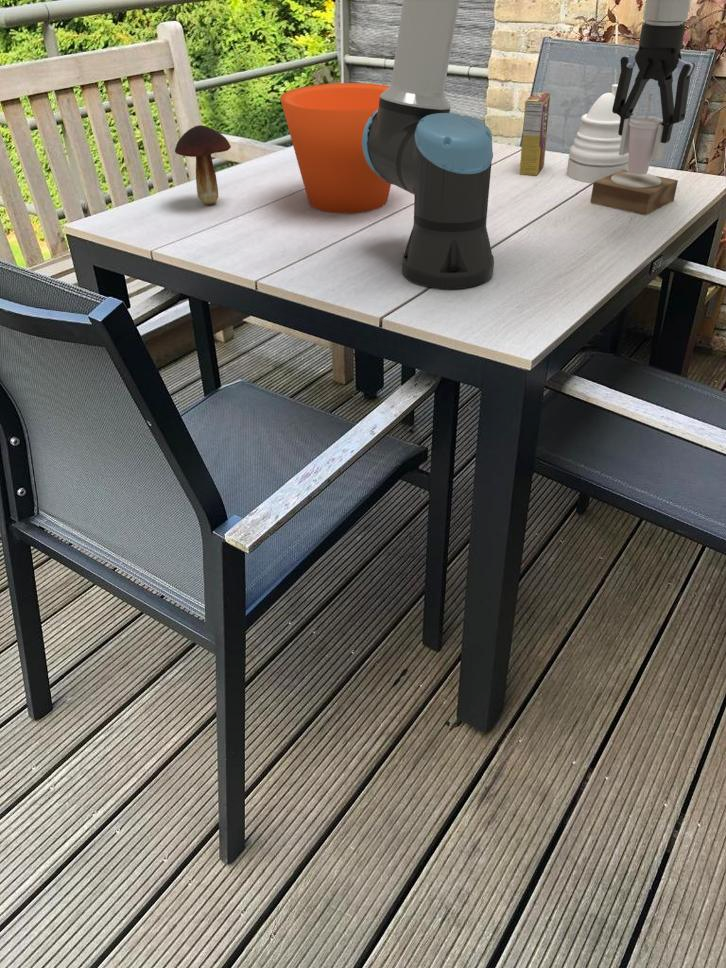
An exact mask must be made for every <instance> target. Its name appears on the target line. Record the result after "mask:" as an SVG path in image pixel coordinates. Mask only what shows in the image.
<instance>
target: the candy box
mask: <svg viewBox="0 0 726 968" xmlns="http://www.w3.org/2000/svg"><path fill="white" fill-rule="evenodd" d="M550 100H551V92H550V93H549V92H548V93H547V92H532V93H531V95H529V97H528V98H527V99H526V100H525V102H524V112H523V113H524V114H523V124H522V125H523V127H522V139H521V151H520V154H521V155H520V165H519V175H523V176H532V177H533V176H535V177H537V176H538V175H539V173H540V172H541V170H542V168H544V166H545V159H546V158H545V155H546V146H547V136H548V125H549V123H548V122H549V115H550V114H549V111H550V104H551V103H550V102H551V101H550Z"/></svg>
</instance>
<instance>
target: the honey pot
mask: <svg viewBox="0 0 726 968" xmlns="http://www.w3.org/2000/svg"><path fill="white" fill-rule="evenodd" d="M617 87H618V83H616V84H615V83H613V84H611V92H606V93H603V94H602V95H600V96H599V97H598V98H597V99H596V100H595V102H594V103H593V105H591V108H590V109H589V110H588V112H587V113H584V114H583V115H582V116H581V118H580V119H581V122H582V123H581V126H580V128H579V130H578V131H577V132H576V137H575V138H574V140H573V143H572V144H573V145H571V146H570V148H569V154H568V156H569V157H568V159H567V168H566V176H567V177H568V178H570V179H572V180H574V181H578V182H582V183H587V184H593V183H594V182H595V181H597V180H600V179H602V178H604V177H607V176H609V175H611V174H614V173H616V172H618V171H621V170H623V169H624V170H628V158H629V153H627V154H624V155H619V150H620V144H621V138H622V136H621V135H619V133H618V132H619V125H620V116H619V115H618V114H616V113H613V112H612V109H613V104H614V100H615V95H616V91H617Z"/></svg>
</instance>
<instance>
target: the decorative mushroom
mask: <svg viewBox="0 0 726 968" xmlns="http://www.w3.org/2000/svg"><path fill="white" fill-rule="evenodd" d="M231 148H232V145H231V144H230V143H229V141H228V139H227V138H226V137H225V136H224V135H223V134H222V133H220V132H219V131H217V130H215V129H213V128H211V127H209V126H206V125H196V126H195V125H194V126H193V127H191V128H190V129H188V130H187V131H186V132H184V133H183V134H182V136H181V137H180V138H179V139H178V141H177V143H176V146H175V148H174V153H176V155H180V156H183V157H190V158H193V157H194V158H195V182H196V183H195V184H196V194H197V198H198V200H199V201H200V202H201V203H202V204H204V205H213V204H214V203H216V202H217V201H218V199H219V188H218V182H217V180H218V179H217V175H216V170H215V167H214V163H213V158H212V154H217V153H223V152H227V151H229V150H230V149H231Z"/></svg>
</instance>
